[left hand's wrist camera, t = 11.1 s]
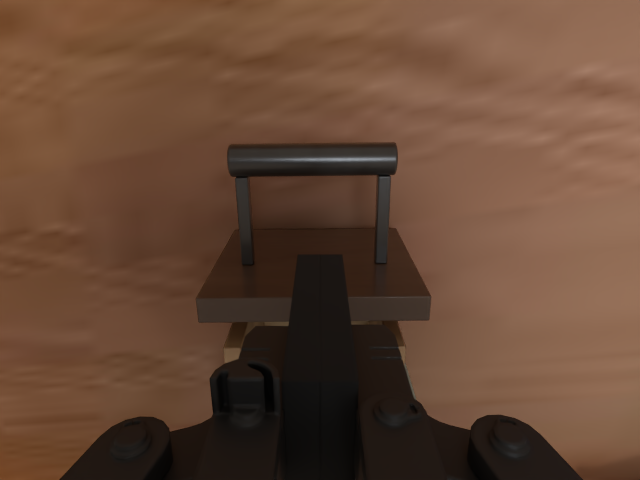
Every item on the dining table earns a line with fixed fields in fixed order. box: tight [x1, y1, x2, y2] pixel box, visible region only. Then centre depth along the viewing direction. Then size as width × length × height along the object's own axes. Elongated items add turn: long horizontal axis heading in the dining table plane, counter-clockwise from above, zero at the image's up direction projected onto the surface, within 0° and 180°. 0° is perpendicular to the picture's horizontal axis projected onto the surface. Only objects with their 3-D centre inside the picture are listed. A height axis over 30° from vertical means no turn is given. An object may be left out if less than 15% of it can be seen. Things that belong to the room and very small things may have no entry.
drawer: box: [196, 142, 431, 366], centre depth 25 cm, size 23×10×9 cm, turn 1°
